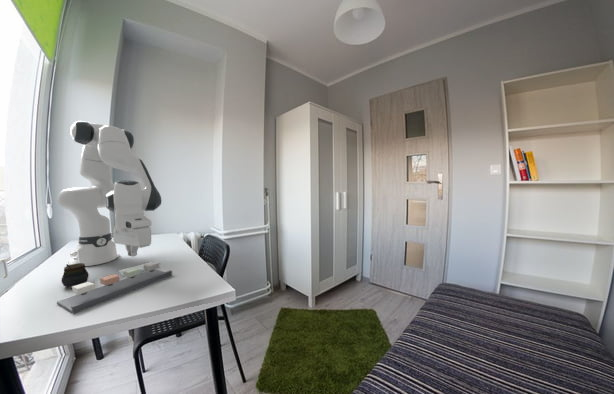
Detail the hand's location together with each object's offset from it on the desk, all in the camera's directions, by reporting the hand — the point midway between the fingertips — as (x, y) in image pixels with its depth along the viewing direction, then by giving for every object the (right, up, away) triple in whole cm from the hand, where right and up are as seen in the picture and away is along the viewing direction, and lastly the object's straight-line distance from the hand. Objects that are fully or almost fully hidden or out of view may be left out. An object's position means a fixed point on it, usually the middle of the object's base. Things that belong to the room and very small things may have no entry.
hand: (132, 255), depth 83 cm
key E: (-3, -9, -6) cm, 12 cm away
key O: (-6, -10, -12) cm, 17 cm away
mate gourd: (-23, -12, 0) cm, 26 cm away
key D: (0, -9, +1) cm, 9 cm away
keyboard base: (-2, -12, -3) cm, 12 cm away
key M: (+3, -9, +7) cm, 11 cm away
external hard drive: (-10, -12, +15) cm, 22 cm away
